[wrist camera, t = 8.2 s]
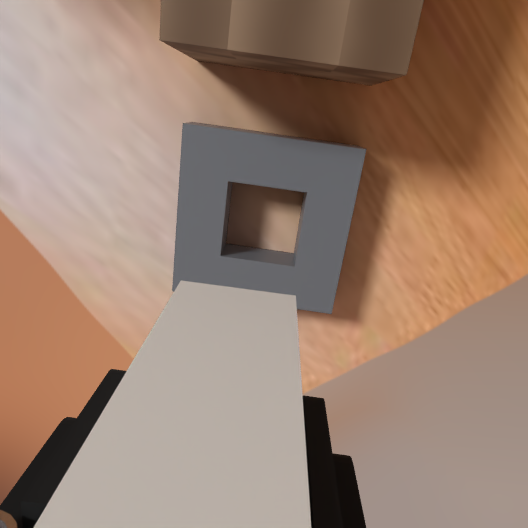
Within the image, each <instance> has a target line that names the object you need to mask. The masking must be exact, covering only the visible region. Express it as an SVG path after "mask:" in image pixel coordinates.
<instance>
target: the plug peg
mask: <svg viewBox="0 0 528 528" xmlns="http://www.w3.org/2000/svg"><path fill="white" fill-rule="evenodd" d="M34 528H311V516H310V501H309V486H308V471H307V456H306V441H305V426H304V411H303V396H302V381H301V366H300V351H299V336H298V321H297V306H296V296H295V295H287V294H280V293H272V292H265V291H257V290H249V289H242V288H234V287H227V286H219V285H211V284H204V283H196V282H189V281H180V283H179V284H178V286H177V288H176V289H175V291H174V293H173V294H172V296H171V298H170V299H169V301H168V303H167V304H166V306H165V308H164V309H163V311H162V313H161V314H160V316H159V318H158V320H157V321H156V323H155V325H154V326H153V328H152V330H151V331H150V333H149V335H148V336H147V338H146V340H145V341H144V343H143V345H142V346H141V348H140V350H139V351H138V353H137V355H136V356H135V358H134V360H133V361H132V363H131V365H130V367H129V369H128V370H127V372H126V373H125V375H124V377H123V378H122V380H121V382H120V383H119V385H118V387H117V388H116V390H115V392H114V393H113V395H112V397H111V398H110V400H109V402H108V403H107V405H106V407H105V408H104V410H103V412H102V413H101V415H100V417H99V419H98V420H97V422H96V424H95V425H94V427H93V429H92V430H91V432H90V434H89V435H88V437H87V439H86V440H85V442H84V444H83V445H82V447H81V449H80V450H79V452H78V454H77V455H76V457H75V459H74V460H73V462H72V464H71V466H70V467H69V469H68V471H67V472H66V474H65V476H64V477H63V479H62V481H61V482H60V484H59V486H58V487H57V489H56V491H55V492H54V494H53V496H52V497H51V499H50V501H49V502H48V504H47V506H46V507H45V509H44V511H43V512H42V514H41V516H40V518H39V519H38V521H37V523H36V524H35V526H34Z"/></svg>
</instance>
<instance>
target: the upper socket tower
mask: <svg viewBox="0 0 528 528" xmlns="http://www.w3.org/2000/svg"><path fill="white" fill-rule="evenodd" d="M423 1H424V0H161V15H160V39H159V40H161V41H162V42H164V43H166V44H168V45H170V46H171V47H173V48H175V49H177V50H179V51H180V52H182V53H184V54H186V55H188V56H189V57H191V58H193V59H195V60H197V61H202V62H209V63H217V64H224V65H231V66H238V67H245V68H252V69H259V70H266V71H273V72H280V73H287V74H294V75H301V76H308V77H315V78H322V79H329V80H336V81H343V82H350V83H357V84H364V85H375V84H378V83H381V82H385V81H388V80H392V79H395V78H398V77H402V76H405V75H407V71H408V67H409V62H410V58H411V54H412V49H413V45H414V41H415V36H416V32H417V27H418V23H419V19H420V14H421V10H422V6H423Z"/></svg>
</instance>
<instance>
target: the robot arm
mask: <svg viewBox="0 0 528 528" xmlns="http://www.w3.org/2000/svg"><path fill="white" fill-rule="evenodd" d="M126 372H127V371H122V370H115V369H111V370H110V371H109V372H108V373H107V375H106V376H105V378H104V379H103V381H102V382H101V384H100V385H99V387H98V388H97V390H96V391H95V392H94V394H93V395H92V397H91V398H90V400H89V401H88V403H87V404H86V406H85V407H84V409H83V410H82V412H81V413H80V414H79V416H78V417H77V418H71V417H66V418H65V419H63V420H62V421H61V423H60V424H59V425H58V426H57V428H56V429H55V431H54V432H53V433H52V435H51V436H50V438H49V439H48V440H47V442H46V443H45V444H44V446H43V447H42V449H41V450H40V452H39V453H38V454H37V455H36V457H35V458H34V460H33V461H32V462H31V464H30V465H29V467H28V468H27V469H26V471H25V472H24V473H23V475H22V476H21V478H20V479H19V480H18V482H17V483H16V484H15V486H14V487H13V489H12V490H11V491H10V493H9V494H8V496H7V497H6V498H5V500H4V501H3V503H2V504H1V505H0V528H34V526H35V524H36V523H37V521H38V519H39V518H40V516H41V514H42V512H43V511H44V509H45V507H46V506H47V504H48V502H49V501H50V499H51V497H52V496H53V494H54V492H55V491H56V489H57V487H58V486H59V484H60V482H61V481H62V479H63V477H64V476H65V474H66V472H67V471H68V469H69V467H70V466H71V464H72V462H73V460H74V459H75V457H76V455H77V454H78V452H79V450H80V449H81V447H82V445H83V444H84V442H85V440H86V439H87V437H88V435H89V434H90V432H91V430H92V429H93V427H94V425H95V424H96V422H97V420H98V419H99V417H100V415H101V413H102V412H103V410H104V408H105V407H106V405H107V403H108V402H109V400H110V398H111V397H112V395H113V393H114V392H115V390H116V388H117V387H118V385H119V383H120V382H121V380H122V378H123V377H124V375H125V373H126ZM303 411H304V426H305V441H306V456H307V471H308V486H309V501H310V516H311V528H366V525H365V520H364V515H363V510H362V505H361V500H360V495H359V490H358V485H357V480H356V475H355V471H354V466H353V462H352V458H351V457H350V456H347V455H339V454H332V449H331V442H330V435H329V428H328V421H327V414H326V408H325V401H324V399H323V398H317V397H309V396H303Z"/></svg>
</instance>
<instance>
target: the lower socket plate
mask: <svg viewBox="0 0 528 528" xmlns="http://www.w3.org/2000/svg"><path fill="white" fill-rule="evenodd" d="M365 153H366V149H364V148H362V147H360V146H357V145H350V144H343V143H336V142H329V141H322V140H315V139H308V138H301V137H294V136H287V135H280V134H273V133H266V132H259V131H252V130H245V129H238V128H231V127H224V126H217V125H210V124H203V123H196V122H189V123H183V129H182V145H181V161H180V177H179V193H178V209H177V224H176V240H175V256H174V272H173V288H172V291H175V289H176V288H177V286H178V284H179V283H180V281H189V282H196V283H204V284H211V285H219V286H227V287H234V288H242V289H249V290H257V291H265V292H272V293H280V294H287V295H295V296H296V306H297V309H300V310H307V311H314V312H321V313H328V314H332V309H333V304H334V300H335V295H336V290H337V285H338V281H339V276H340V271H341V267H342V262H343V257H344V252H345V248H346V243H347V238H348V233H349V229H350V224H351V219H352V215H353V210H354V205H355V200H356V196H357V191H358V186H359V181H360V177H361V172H362V167H363V163H364V158H365ZM233 182H237V183H244V184H251V185H258V186H265V187H272V188H279V189H286V190H293V191H300V192H304V196H303V202H302V208H301V214H300V220H299V226H298V232H297V238H296V244H295V250H294V253H288V252H281V251H274V250H267V249H260V248H253V247H246V246H239V245H232V244H226V239H227V229H228V220H229V211H230V201H231V192H232V183H233Z"/></svg>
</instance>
